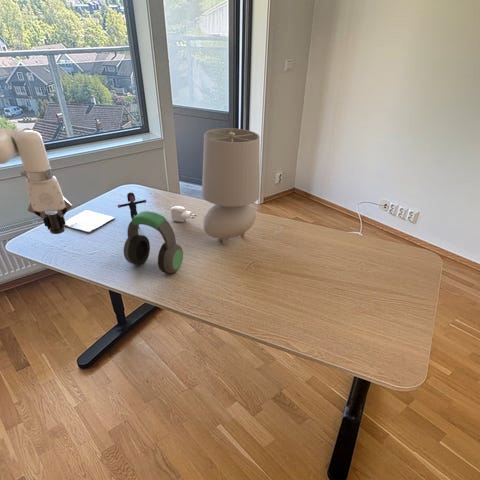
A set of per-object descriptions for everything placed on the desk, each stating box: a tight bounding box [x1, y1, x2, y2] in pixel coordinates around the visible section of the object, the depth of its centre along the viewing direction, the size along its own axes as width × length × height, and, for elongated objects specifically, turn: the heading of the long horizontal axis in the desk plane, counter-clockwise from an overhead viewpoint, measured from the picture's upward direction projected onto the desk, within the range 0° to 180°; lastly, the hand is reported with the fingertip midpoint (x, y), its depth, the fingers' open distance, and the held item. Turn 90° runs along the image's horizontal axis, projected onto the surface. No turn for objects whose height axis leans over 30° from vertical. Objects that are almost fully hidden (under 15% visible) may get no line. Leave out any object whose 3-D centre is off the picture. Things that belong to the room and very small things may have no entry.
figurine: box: [117, 191, 147, 230], centre depth 143 cm, size 12×4×15 cm, turn 123°
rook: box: [45, 210, 65, 235], centre depth 122 cm, size 5×5×7 cm
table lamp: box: [201, 127, 261, 246], centre depth 129 cm, size 23×22×40 cm
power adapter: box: [170, 205, 198, 223], centre depth 152 cm, size 11×5×6 cm, turn 70°
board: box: [64, 209, 116, 235], centre depth 149 cm, size 16×16×1 cm
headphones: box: [123, 210, 184, 274], centre depth 119 cm, size 19×11×20 cm, turn 70°
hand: (56, 226), depth 123 cm, fingers closed on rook, 3 cm apart
